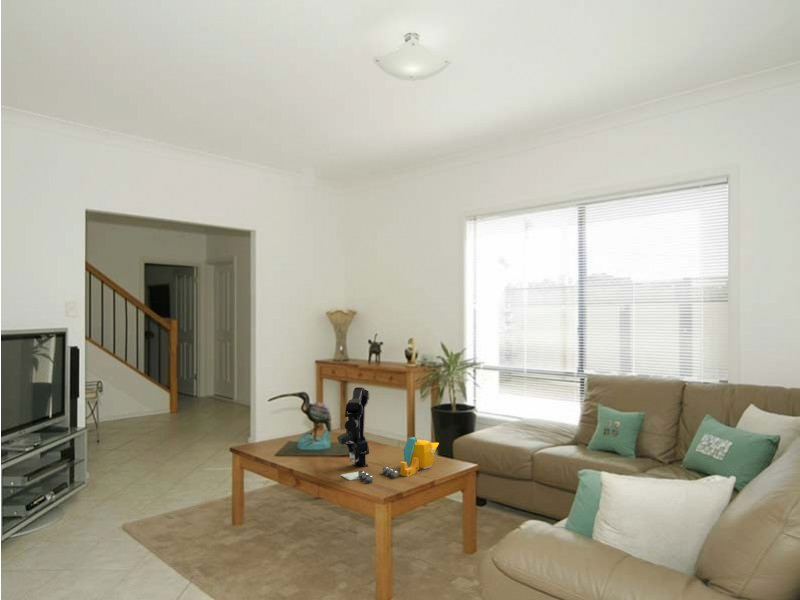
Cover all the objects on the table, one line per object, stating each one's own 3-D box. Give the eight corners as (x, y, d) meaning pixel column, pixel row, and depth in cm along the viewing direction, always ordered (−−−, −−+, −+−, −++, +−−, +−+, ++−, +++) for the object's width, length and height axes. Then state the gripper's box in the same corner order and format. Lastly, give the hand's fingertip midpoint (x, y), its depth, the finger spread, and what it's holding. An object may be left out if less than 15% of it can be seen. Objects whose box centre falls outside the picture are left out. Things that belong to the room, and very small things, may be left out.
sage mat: (340, 475, 279) (340, 474, 279) (358, 472, 285) (358, 471, 285) (349, 480, 271) (349, 479, 271) (367, 477, 276) (367, 476, 276)
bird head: (448, 462, 303) (448, 432, 303) (416, 472, 285) (416, 440, 285) (429, 457, 313) (429, 429, 313) (397, 467, 294) (397, 436, 295)
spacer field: (357, 477, 276) (357, 471, 276) (386, 472, 285) (386, 466, 285) (368, 483, 266) (368, 477, 266) (398, 477, 276) (398, 471, 276)
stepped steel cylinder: (348, 460, 279) (348, 452, 279) (355, 459, 281) (355, 450, 281) (352, 462, 275) (352, 453, 275) (360, 461, 277) (360, 452, 277)
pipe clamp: (407, 476, 278) (407, 463, 278) (400, 475, 280) (400, 462, 280) (421, 471, 287) (421, 458, 287) (414, 469, 290) (414, 457, 290)
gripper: (331, 425, 282) (331, 456, 281) (348, 432, 266) (348, 465, 266) (350, 423, 288) (351, 453, 287) (368, 429, 272) (368, 462, 272)
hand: (354, 458), depth 278 cm, fingers closed on stepped steel cylinder, 4 cm apart
